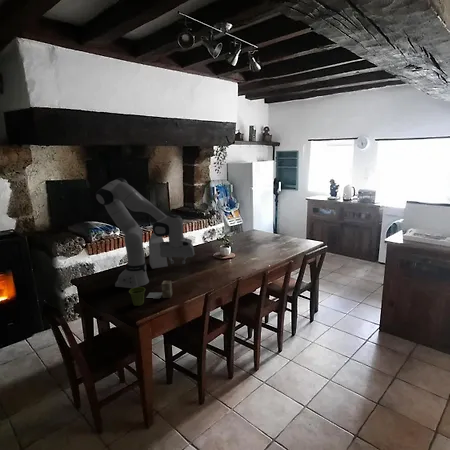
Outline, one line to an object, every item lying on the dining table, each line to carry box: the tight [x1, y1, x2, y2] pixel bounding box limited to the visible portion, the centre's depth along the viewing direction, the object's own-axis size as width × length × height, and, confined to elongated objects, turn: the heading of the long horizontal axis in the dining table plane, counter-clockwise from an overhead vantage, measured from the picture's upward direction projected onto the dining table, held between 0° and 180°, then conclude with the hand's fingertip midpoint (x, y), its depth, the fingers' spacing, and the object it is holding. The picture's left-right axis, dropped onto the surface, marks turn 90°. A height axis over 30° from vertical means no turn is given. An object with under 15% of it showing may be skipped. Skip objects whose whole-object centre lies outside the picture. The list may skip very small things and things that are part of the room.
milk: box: [148, 232, 169, 270], centre depth 254 cm, size 12×12×26 cm
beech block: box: [161, 280, 173, 299], centre depth 202 cm, size 5×5×9 cm
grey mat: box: [145, 292, 163, 300], centre depth 203 cm, size 9×8×1 cm
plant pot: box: [128, 286, 146, 307], centre depth 193 cm, size 9×9×9 cm
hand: (178, 263), depth 197 cm, fingers open, 5 cm apart
